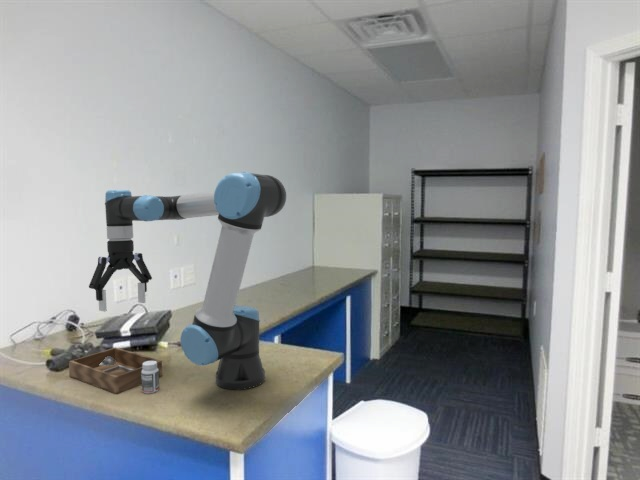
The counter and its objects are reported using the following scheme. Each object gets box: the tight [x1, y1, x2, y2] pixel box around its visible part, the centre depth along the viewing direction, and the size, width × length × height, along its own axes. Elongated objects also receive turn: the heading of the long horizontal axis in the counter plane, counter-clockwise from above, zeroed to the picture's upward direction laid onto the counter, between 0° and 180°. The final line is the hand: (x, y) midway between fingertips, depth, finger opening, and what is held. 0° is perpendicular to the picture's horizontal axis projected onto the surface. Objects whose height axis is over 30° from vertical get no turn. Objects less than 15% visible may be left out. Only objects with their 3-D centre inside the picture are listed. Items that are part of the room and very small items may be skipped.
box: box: [68, 346, 163, 395], centre depth 141 cm, size 24×16×5 cm, turn 58°
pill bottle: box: [141, 361, 160, 394], centre depth 130 cm, size 5×5×8 cm
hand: (123, 306), depth 141 cm, fingers open, 13 cm apart
